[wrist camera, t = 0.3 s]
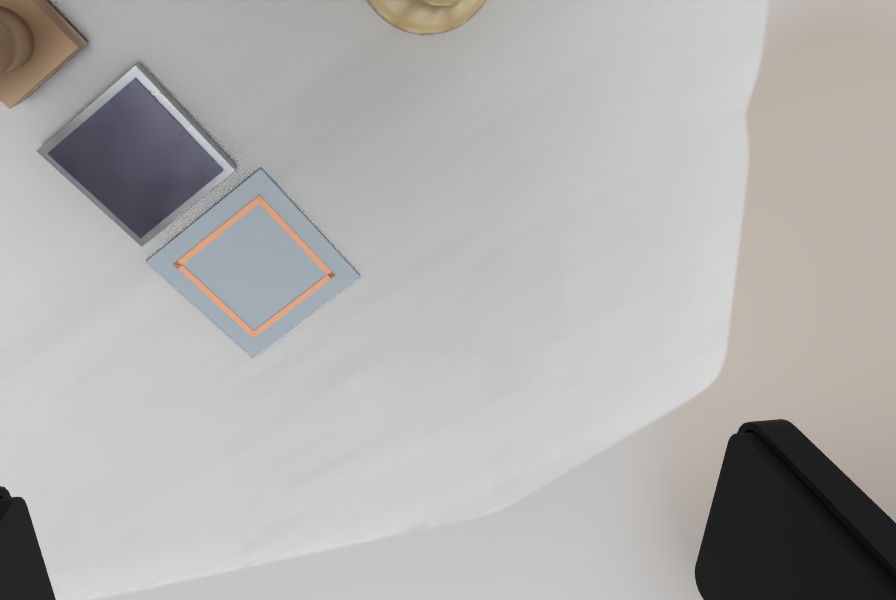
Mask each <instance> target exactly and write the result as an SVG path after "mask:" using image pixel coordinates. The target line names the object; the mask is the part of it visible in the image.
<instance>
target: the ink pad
mask: <svg viewBox="0 0 896 600" xmlns="http://www.w3.org/2000/svg"><path fill="white" fill-rule="evenodd" d="M37 152H38V153H39V154H40V155H41V156H43V157H44V158H45V159H46V160H47V161H48V162H49V163H50V164H51V165H52V166H54V167H55V168H56V169H57V170H58V171H59V172H60V173H61V174H62V175H64V176H65V177H66V178H67V179H68V180H69V181H70V182H71V183H72V184H73V185H75V186H76V187H77V188H78V189H79V190H80V191H81V192H82V193H83V194H84V195H86V196H87V197H88V198H89V199H90V200H91V201H92V202H93V203H94V204H95V205H97V206H98V207H99V208H100V209H101V210H102V211H103V212H104V213H105V214H106V215H108V216H109V217H110V218H111V219H112V220H113V221H114V222H115V223H116V224H117V225H119V226H120V227H121V228H122V229H123V230H124V231H125V232H126V233H127V234H129V235H130V236H131V237H132V238H133V239H134V240H135V241H136V242H137V243H138V244H140V245H141V246H143V245H144V244H146V243H147V242H148V241H149V240H151V239H152V238H153V237H154V236H156V235H157V234H158V233H159V232H160V231H162V230H163V229H164V228H165V227H167V226H168V225H169V224H170V223H171V222H173V221H174V220H175V219H176V218H178V217H179V216H180V215H181V214H182V213H184V212H185V211H186V210H187V209H189V208H190V207H191V206H192V205H194V204H195V203H196V202H197V201H198V200H200V199H201V198H202V197H203V196H205V195H206V194H207V193H208V192H209V191H211V190H212V189H213V188H214V187H216V186H217V185H218V184H219V183H221V182H222V181H223V180H224V179H225V178H227V177H228V176H229V175H230V174H232V173H233V172H234V171H235V169H236V166H237V165H236V164H235V163H234V162H233V161H232V159H231V158H230V157H229V156H228V155H227V154H226V153H225V152H224V151H223V150H222V149H221V148H220V147H219V146H218V145H217V144H216V142H215V141H214V140H213V139H212V138H211V137H210V136H209V135H208V134H207V133H206V132H205V131H204V130H203V129H202V128H201V127H200V125H199V124H198V123H197V122H196V121H195V120H194V119H193V118H192V117H191V116H190V115H189V114H188V113H187V112H186V111H185V109H184V108H183V107H182V106H181V105H180V104H179V103H178V102H177V101H176V100H175V99H174V98H173V97H172V96H171V95H170V94H169V92H168V91H167V90H166V89H165V88H164V87H163V86H162V85H161V84H160V83H159V82H158V81H157V80H156V79H155V78H154V77H153V75H152V74H151V73H150V72H149V71H148V70H147V69H146V68H145V67H144V66H143V65H142V64H141V63H138V64H137V65H135V66H134V67H133V68H132V69H131V70H129V71H128V72H127V73H126V74H125V75H124V76H122V77H121V78H120V79H119V80H118V81H117V82H116V83H114V84H113V85H112V86H111V87H110V88H109V89H107V90H106V91H105V92H104V93H103V94H102V95H101V96H99V97H98V98H97V99H96V100H95V101H94V102H92V103H91V104H90V105H89V106H88V107H87V108H86V109H84V110H83V111H82V112H81V113H80V114H79V115H77V116H76V117H75V118H74V119H73V120H72V121H71V122H69V123H68V124H67V125H66V126H65V127H64V128H62V129H61V130H60V131H59V132H58V133H57V134H56V135H54V136H53V137H52V138H51V139H50V140H49V141H47V142H46V143H45V144H44V145H43V146H42V147H41V148H39V149H38V150H37Z"/></svg>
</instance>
